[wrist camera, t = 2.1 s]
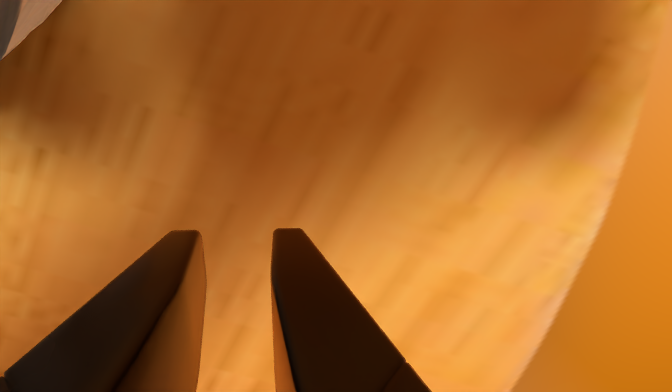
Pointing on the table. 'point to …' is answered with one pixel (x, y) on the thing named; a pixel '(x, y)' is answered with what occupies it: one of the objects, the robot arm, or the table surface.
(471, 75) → the table surface
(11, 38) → the athletic shoe
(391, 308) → the table surface
